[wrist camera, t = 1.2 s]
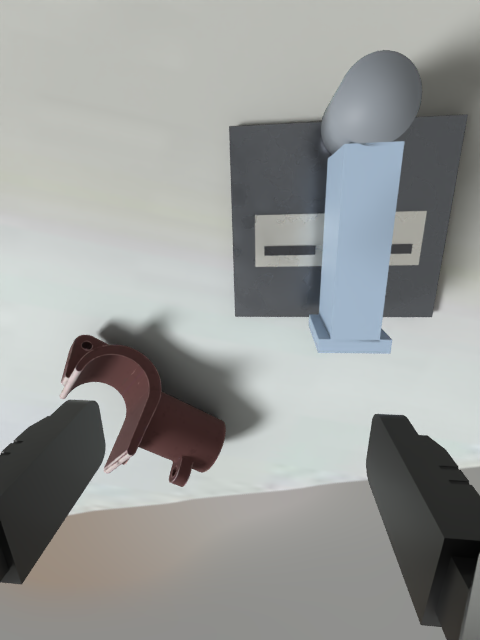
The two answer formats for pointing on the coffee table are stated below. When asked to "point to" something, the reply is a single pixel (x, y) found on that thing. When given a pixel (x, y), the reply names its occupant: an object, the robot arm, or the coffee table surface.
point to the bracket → (146, 409)
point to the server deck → (309, 212)
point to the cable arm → (362, 199)
